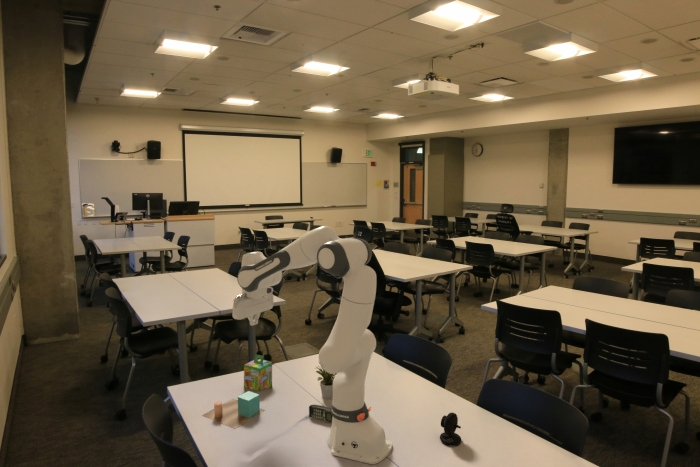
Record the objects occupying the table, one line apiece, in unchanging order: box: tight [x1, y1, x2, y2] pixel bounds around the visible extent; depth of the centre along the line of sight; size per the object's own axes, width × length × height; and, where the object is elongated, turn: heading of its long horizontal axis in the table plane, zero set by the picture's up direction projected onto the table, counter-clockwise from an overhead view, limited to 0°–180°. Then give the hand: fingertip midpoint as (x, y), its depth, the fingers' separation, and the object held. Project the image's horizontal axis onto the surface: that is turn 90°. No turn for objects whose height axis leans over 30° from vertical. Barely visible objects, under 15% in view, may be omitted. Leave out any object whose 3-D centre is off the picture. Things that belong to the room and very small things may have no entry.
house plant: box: [314, 361, 337, 400], centre depth 188 cm, size 14×14×16 cm
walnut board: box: [201, 398, 266, 430], centre depth 174 cm, size 18×16×2 cm
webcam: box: [439, 412, 462, 447], centre depth 157 cm, size 8×8×10 cm
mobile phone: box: [308, 404, 332, 424], centre depth 171 cm, size 5×3×15 cm
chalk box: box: [243, 354, 273, 392], centre depth 197 cm, size 9×9×15 cm
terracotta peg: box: [213, 401, 223, 418], centre depth 171 cm, size 3×3×5 cm
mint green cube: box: [237, 390, 261, 418], centre depth 173 cm, size 6×6×7 cm
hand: (253, 324), depth 182 cm, fingers closed
